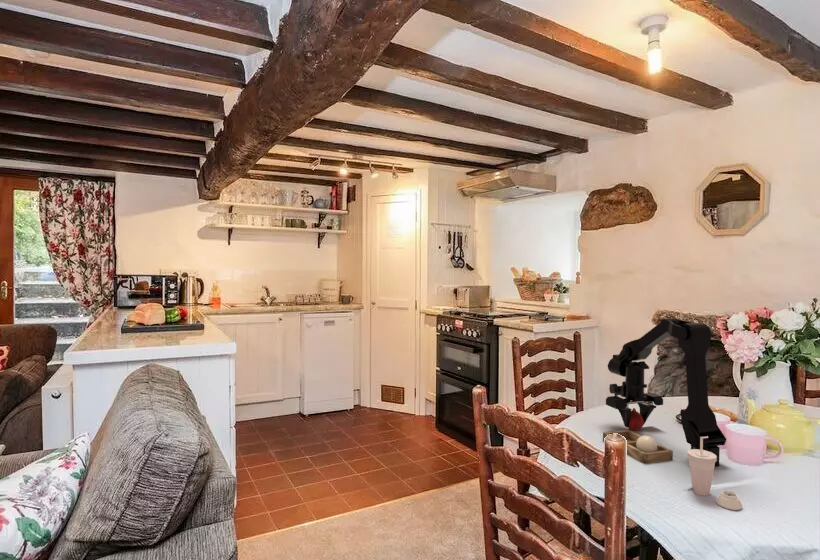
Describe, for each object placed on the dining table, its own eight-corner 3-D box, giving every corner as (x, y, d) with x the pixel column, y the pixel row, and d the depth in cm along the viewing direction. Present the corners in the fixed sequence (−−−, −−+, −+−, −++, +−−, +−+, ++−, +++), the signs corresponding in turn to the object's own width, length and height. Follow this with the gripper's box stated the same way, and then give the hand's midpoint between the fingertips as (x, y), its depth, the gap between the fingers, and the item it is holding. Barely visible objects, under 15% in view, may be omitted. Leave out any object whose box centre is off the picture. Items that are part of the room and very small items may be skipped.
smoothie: (683, 492, 120) (684, 436, 119) (689, 483, 125) (690, 430, 124) (713, 501, 115) (714, 443, 115) (718, 491, 120) (719, 436, 120)
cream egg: (661, 457, 139) (662, 438, 138) (645, 459, 137) (645, 440, 137) (647, 450, 144) (647, 431, 144) (631, 452, 142) (631, 433, 142)
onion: (646, 435, 159) (647, 411, 159) (629, 435, 159) (629, 411, 159) (638, 428, 165) (639, 405, 165) (621, 428, 165) (622, 405, 165)
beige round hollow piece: (711, 501, 116) (727, 512, 111) (711, 489, 116) (727, 499, 111) (731, 500, 116) (747, 510, 111) (731, 488, 116) (747, 498, 111)
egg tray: (672, 463, 137) (672, 450, 137) (644, 466, 135) (644, 454, 135) (628, 440, 155) (628, 429, 154) (602, 443, 152) (603, 432, 152)
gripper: (640, 372, 172) (640, 416, 172) (595, 376, 167) (595, 420, 167) (664, 380, 161) (664, 426, 162) (617, 384, 156) (616, 431, 157)
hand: (634, 426), depth 162 cm, fingers closed on onion, 6 cm apart
